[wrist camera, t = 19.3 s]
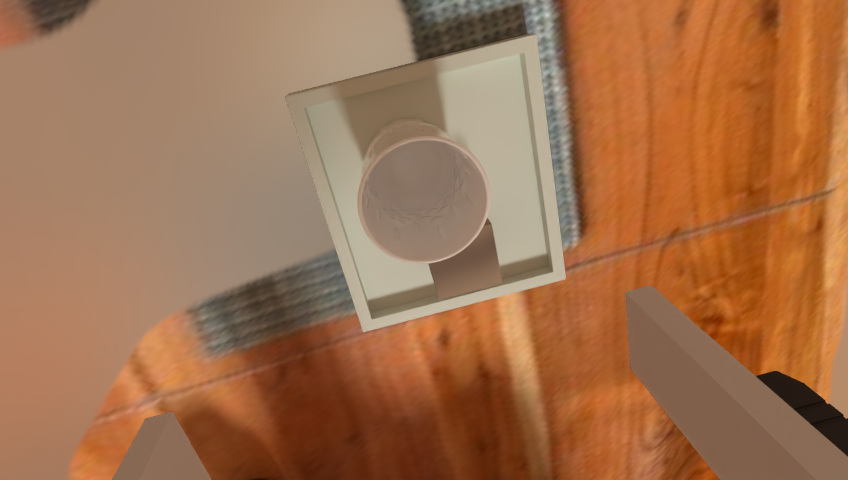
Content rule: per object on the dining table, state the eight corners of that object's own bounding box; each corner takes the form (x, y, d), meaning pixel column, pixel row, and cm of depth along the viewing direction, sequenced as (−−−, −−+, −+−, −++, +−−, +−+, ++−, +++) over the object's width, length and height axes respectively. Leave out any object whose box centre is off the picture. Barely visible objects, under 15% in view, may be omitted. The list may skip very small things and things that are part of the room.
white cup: (400, 87, 36) (414, 106, 27) (479, 152, 38) (517, 190, 29) (337, 171, 38) (330, 216, 29) (417, 228, 40) (434, 286, 31)
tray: (557, 268, 44) (565, 279, 42) (363, 319, 44) (363, 332, 42) (527, 34, 36) (536, 34, 34) (288, 93, 36) (285, 97, 34)
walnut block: (487, 255, 42) (502, 283, 37) (430, 270, 42) (439, 299, 37) (476, 201, 40) (491, 224, 35) (417, 217, 40) (424, 241, 35)
